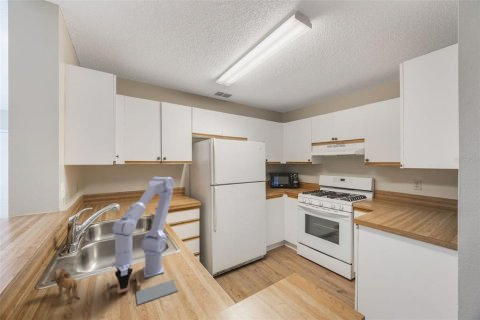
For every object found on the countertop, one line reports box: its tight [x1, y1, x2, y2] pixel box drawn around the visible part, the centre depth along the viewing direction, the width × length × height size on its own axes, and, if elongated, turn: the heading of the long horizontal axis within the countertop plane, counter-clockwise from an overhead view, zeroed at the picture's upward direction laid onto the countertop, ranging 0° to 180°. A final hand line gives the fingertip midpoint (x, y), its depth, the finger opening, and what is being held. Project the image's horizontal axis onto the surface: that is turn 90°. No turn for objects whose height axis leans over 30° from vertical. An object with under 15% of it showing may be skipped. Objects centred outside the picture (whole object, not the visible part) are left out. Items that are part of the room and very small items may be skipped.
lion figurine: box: [48, 268, 81, 304], centre depth 72 cm, size 15×5×9 cm, turn 70°
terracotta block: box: [117, 276, 131, 294], centre depth 75 cm, size 4×4×6 cm
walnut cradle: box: [105, 274, 141, 303], centre depth 76 cm, size 9×11×2 cm
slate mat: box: [135, 279, 178, 306], centre depth 74 cm, size 8×14×1 cm, turn 122°
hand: (123, 284), depth 75 cm, fingers closed on terracotta block, 4 cm apart
